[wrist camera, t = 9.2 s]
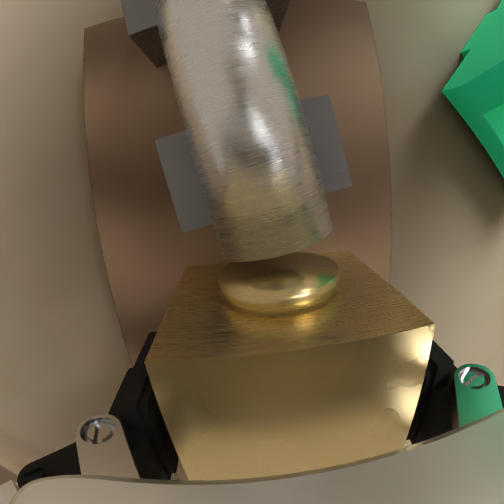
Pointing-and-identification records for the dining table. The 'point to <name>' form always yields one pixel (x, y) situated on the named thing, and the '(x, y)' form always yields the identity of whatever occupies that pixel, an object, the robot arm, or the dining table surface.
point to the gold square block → (287, 365)
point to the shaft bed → (170, 122)
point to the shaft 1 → (241, 126)
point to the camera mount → (483, 85)
